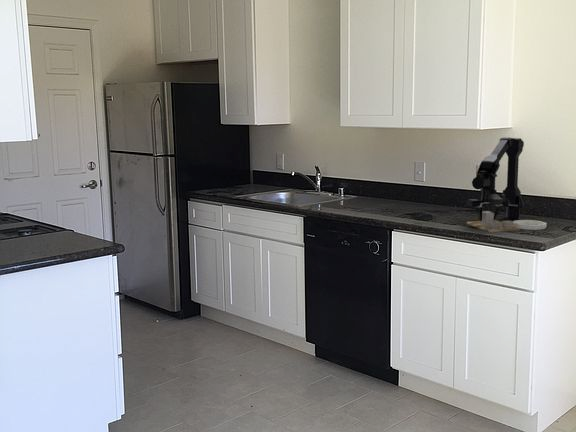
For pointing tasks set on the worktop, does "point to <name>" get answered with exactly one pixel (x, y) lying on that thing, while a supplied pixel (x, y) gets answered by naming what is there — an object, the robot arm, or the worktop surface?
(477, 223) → the tray
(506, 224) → the grey cubic piece
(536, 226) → the bowl
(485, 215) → the grey rectangular block
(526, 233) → the worktop surface
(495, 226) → the grey piece
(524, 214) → the worktop surface
